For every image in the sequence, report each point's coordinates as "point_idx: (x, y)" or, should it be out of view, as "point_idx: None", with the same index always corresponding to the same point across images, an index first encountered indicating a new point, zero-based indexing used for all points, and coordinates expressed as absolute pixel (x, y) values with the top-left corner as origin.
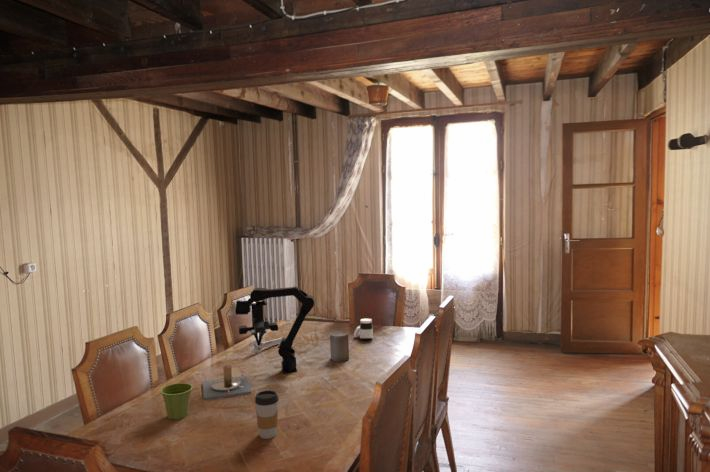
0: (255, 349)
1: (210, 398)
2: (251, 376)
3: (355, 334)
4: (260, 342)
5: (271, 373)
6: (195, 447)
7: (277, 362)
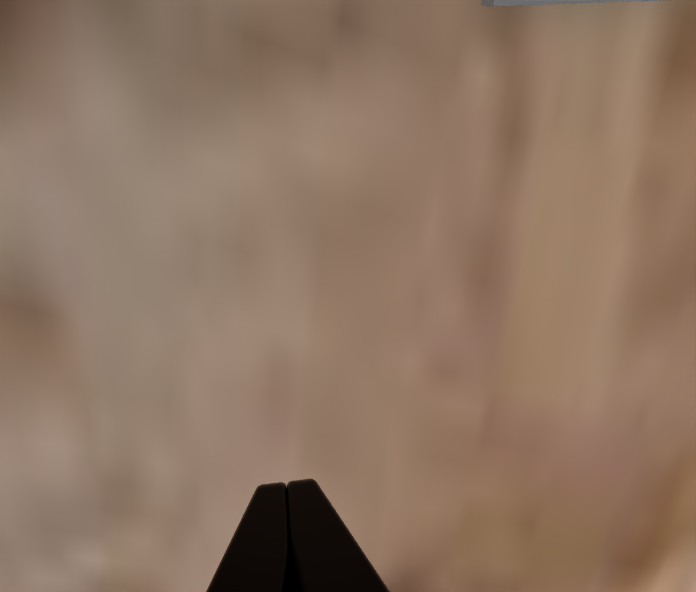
0: None
1: None
2: (404, 31)
3: None
4: (223, 565)
5: (80, 60)
6: None
7: (24, 462)
